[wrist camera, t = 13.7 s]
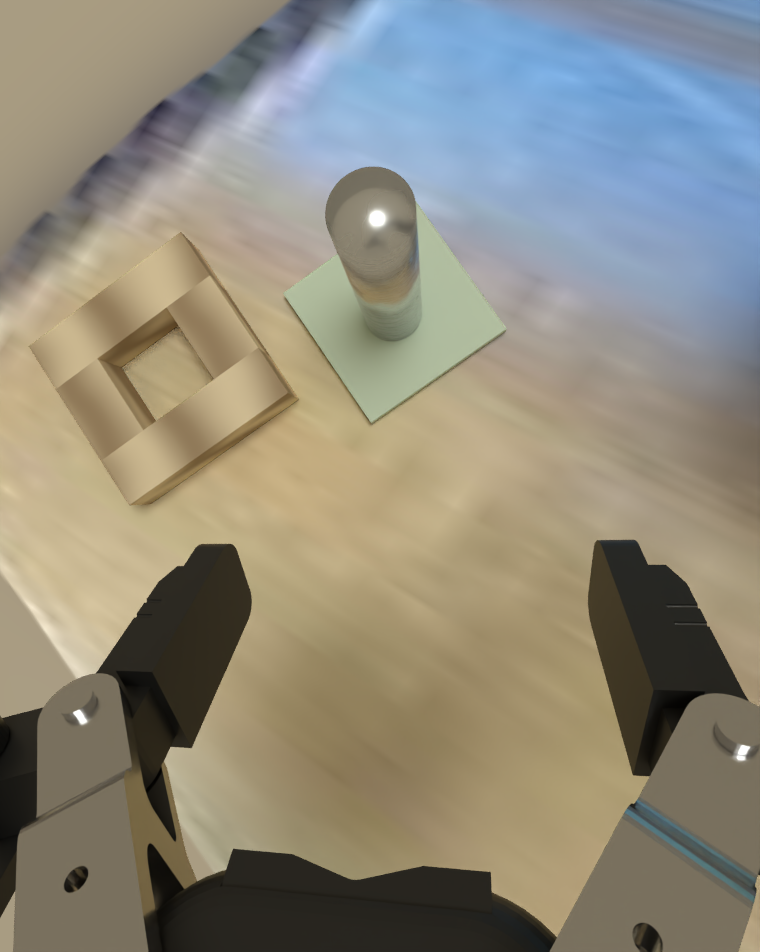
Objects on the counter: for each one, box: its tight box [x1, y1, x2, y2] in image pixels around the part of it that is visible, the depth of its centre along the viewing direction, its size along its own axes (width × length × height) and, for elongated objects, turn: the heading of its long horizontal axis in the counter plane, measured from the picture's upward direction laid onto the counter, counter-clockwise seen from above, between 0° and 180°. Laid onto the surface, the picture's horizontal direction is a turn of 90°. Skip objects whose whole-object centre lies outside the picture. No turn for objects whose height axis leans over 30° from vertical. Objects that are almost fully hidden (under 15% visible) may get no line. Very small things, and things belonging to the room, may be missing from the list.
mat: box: [283, 201, 506, 424], centre depth 33 cm, size 10×10×1 cm
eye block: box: [29, 232, 299, 505], centre depth 33 cm, size 12×12×2 cm
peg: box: [325, 167, 422, 341], centre depth 27 cm, size 4×4×12 cm
